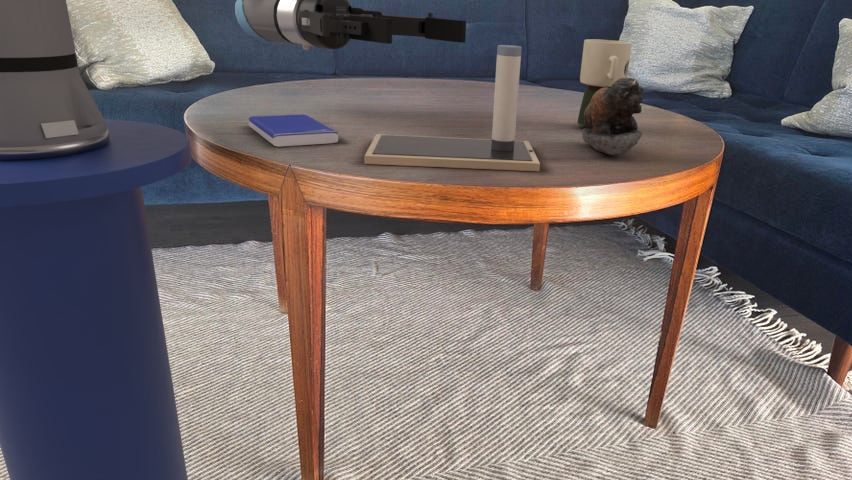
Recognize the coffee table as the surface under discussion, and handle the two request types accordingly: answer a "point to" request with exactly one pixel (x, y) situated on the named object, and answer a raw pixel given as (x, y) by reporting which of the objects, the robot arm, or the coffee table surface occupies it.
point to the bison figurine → (614, 117)
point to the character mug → (602, 67)
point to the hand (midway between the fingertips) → (429, 31)
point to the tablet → (449, 153)
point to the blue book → (292, 130)
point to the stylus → (506, 97)
